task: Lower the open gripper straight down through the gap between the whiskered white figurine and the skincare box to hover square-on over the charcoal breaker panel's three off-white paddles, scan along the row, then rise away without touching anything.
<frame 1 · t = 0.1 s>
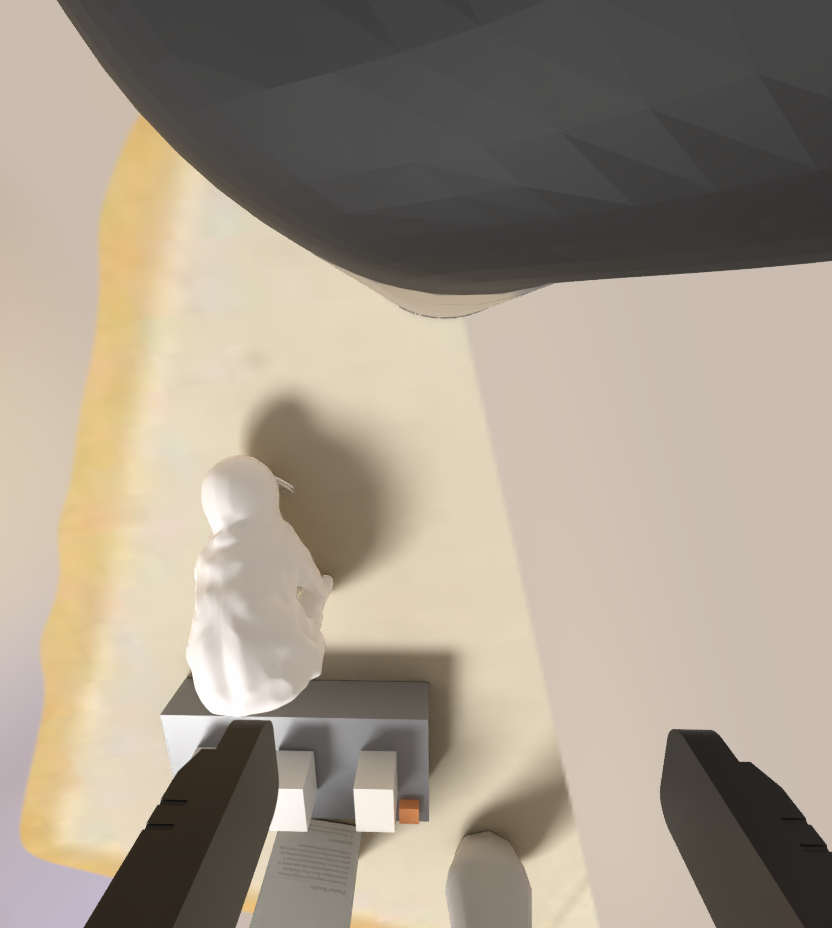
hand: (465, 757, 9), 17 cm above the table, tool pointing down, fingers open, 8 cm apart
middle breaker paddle: (292, 789, 27), point 4 cm above the table, hinge at 0.0°
whiskered white figurine: (276, 538, 28), on the table
skincare box: (322, 833, 34), on the table
salt shaker: (484, 848, 34), on the table
breaker panel: (310, 729, 31), on the table
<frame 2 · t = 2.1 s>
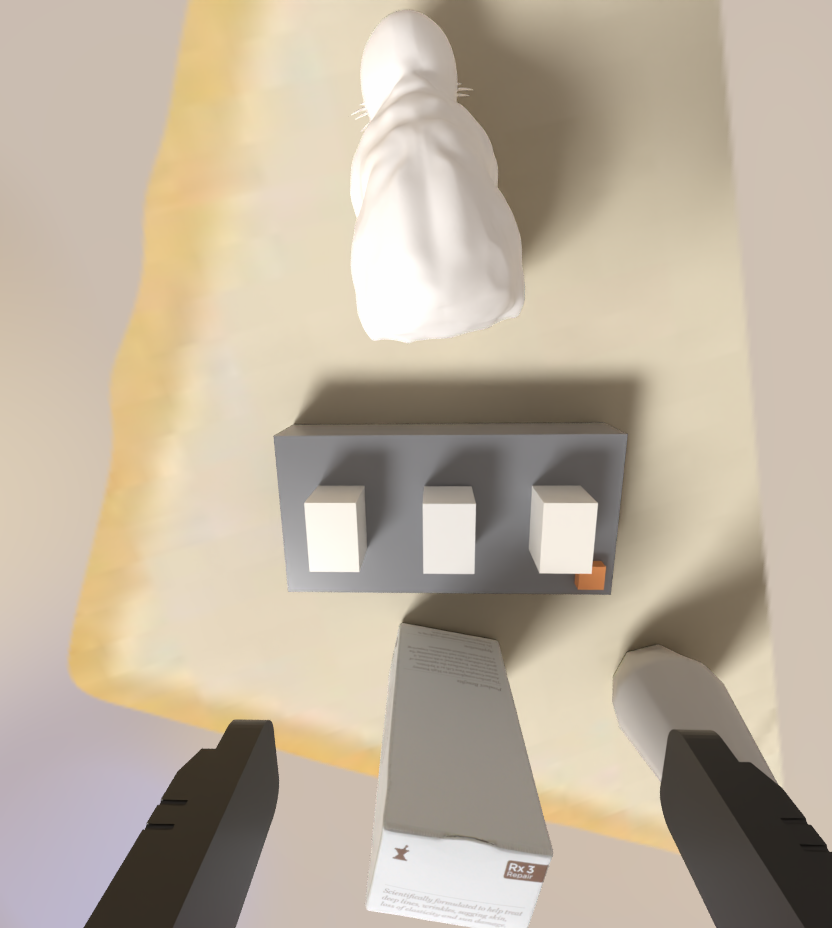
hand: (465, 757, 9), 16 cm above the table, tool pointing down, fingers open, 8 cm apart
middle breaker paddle: (448, 528, 21), point 4 cm above the table, hinge at 0.0°
whiskered white figurine: (425, 210, 22), on the table
skincare box: (445, 654, 28), on the table
salt shaker: (648, 672, 27), on the table
breaker panel: (446, 497, 25), on the table
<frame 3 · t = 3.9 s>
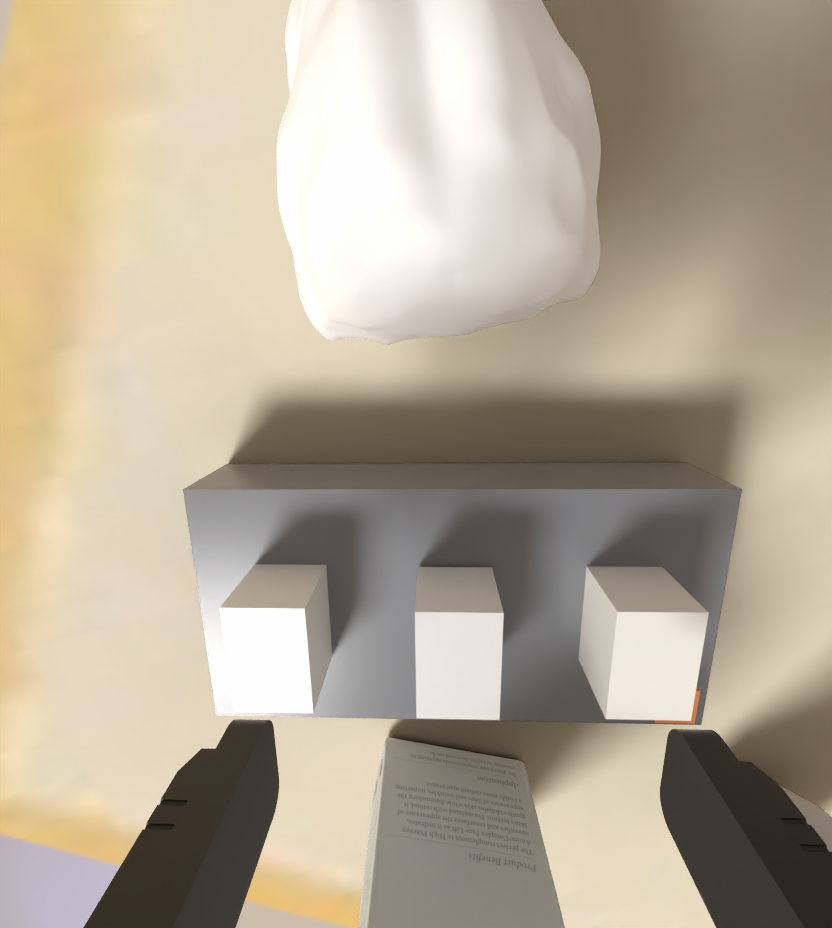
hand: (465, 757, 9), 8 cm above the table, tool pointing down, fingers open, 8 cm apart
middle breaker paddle: (456, 638, 13), point 4 cm above the table, hinge at 0.0°
whiskered white figurine: (420, 140, 14), on the table
skincare box: (449, 775, 20), on the table
salt shaker: (731, 802, 20), on the table
breaker panel: (451, 567, 17), on the table
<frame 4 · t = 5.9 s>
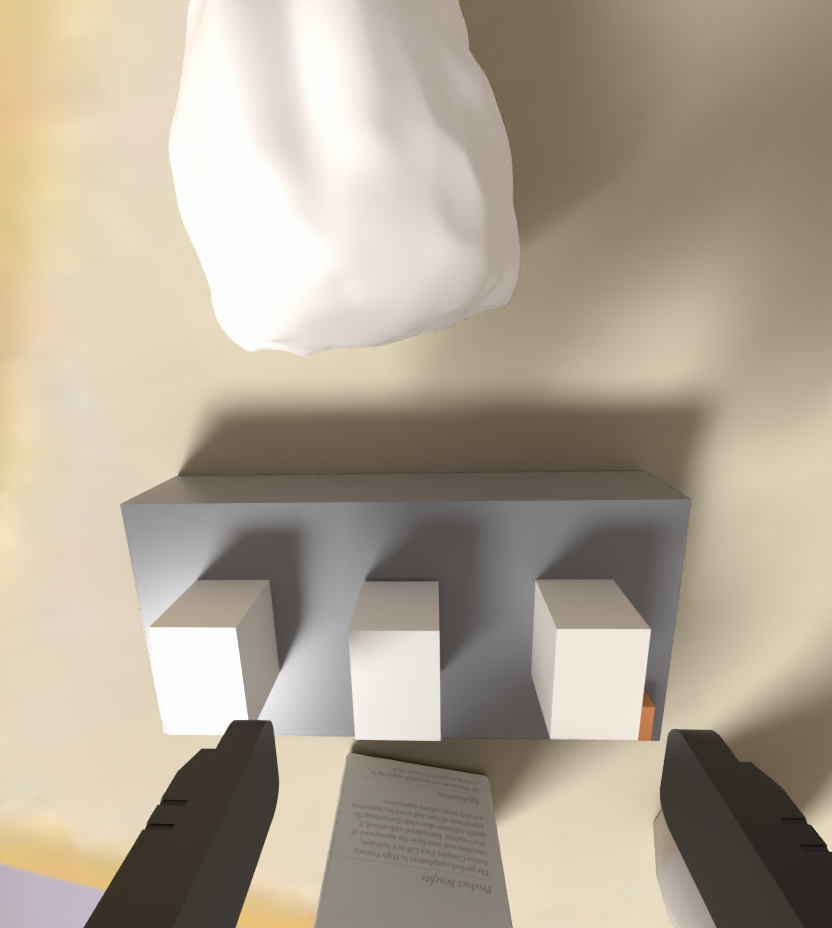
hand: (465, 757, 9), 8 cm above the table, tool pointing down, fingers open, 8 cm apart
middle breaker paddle: (399, 656, 13), point 4 cm above the table, hinge at 0.0°
whiskered white figurine: (362, 145, 14), on the table
skincare box: (414, 791, 20), on the table
salt shaker: (703, 816, 19), on the table
breaker panel: (407, 579, 17), on the table
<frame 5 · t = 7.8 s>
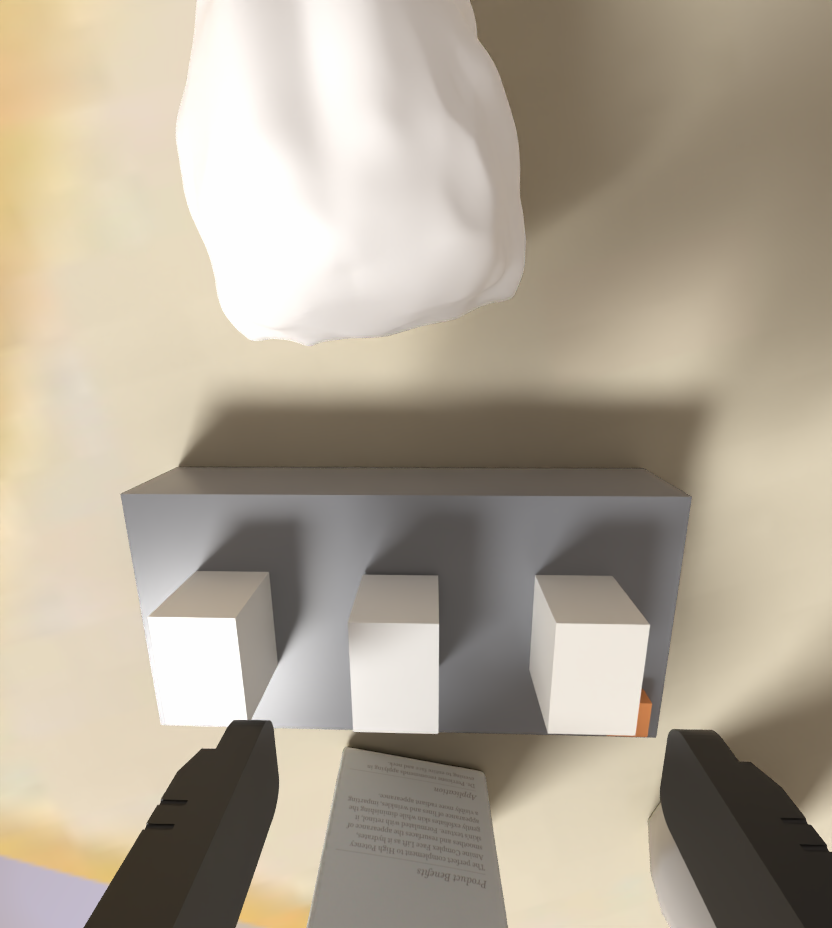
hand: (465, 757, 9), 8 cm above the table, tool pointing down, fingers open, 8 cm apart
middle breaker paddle: (398, 649, 13), point 4 cm above the table, hinge at 0.0°
whiskered white figurine: (367, 137, 14), on the table
skincare box: (410, 786, 20), on the table
salt shaker: (697, 814, 19), on the table
breaker panel: (407, 573, 17), on the table
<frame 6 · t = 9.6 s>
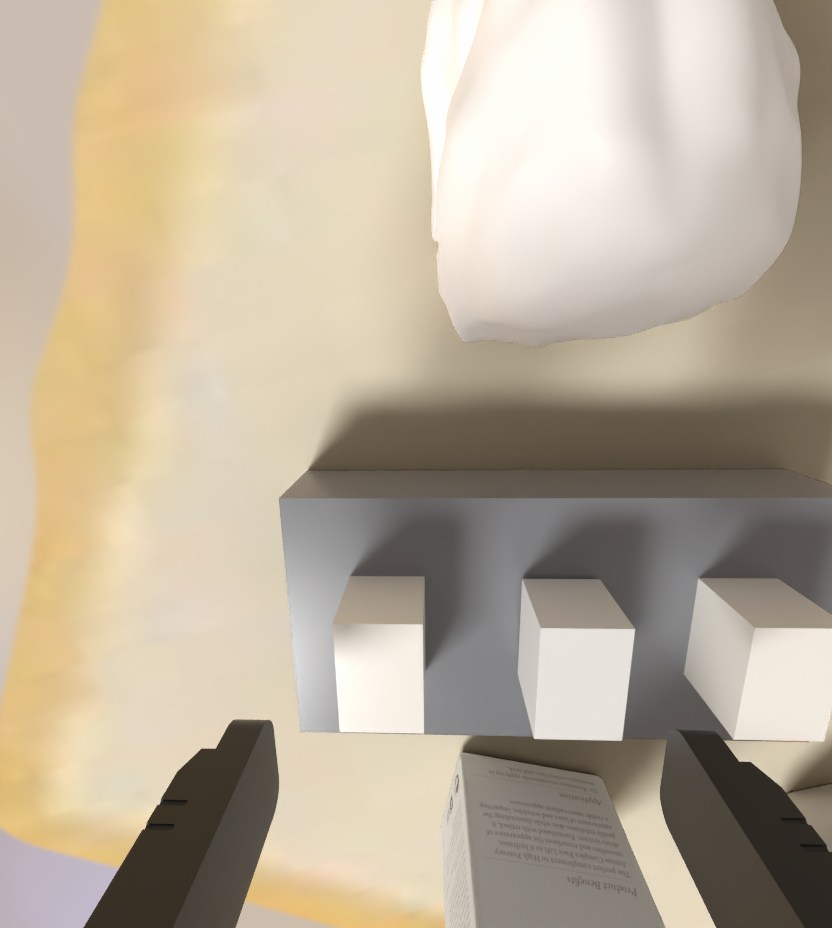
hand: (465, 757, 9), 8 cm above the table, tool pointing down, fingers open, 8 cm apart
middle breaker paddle: (568, 654, 12), point 4 cm above the table, hinge at 0.0°
whiskered white figurine: (522, 136, 13), on the table
skincare box: (522, 791, 19), on the table
salt shaker: (814, 818, 19), on the table
breaker panel: (535, 577, 17), on the table
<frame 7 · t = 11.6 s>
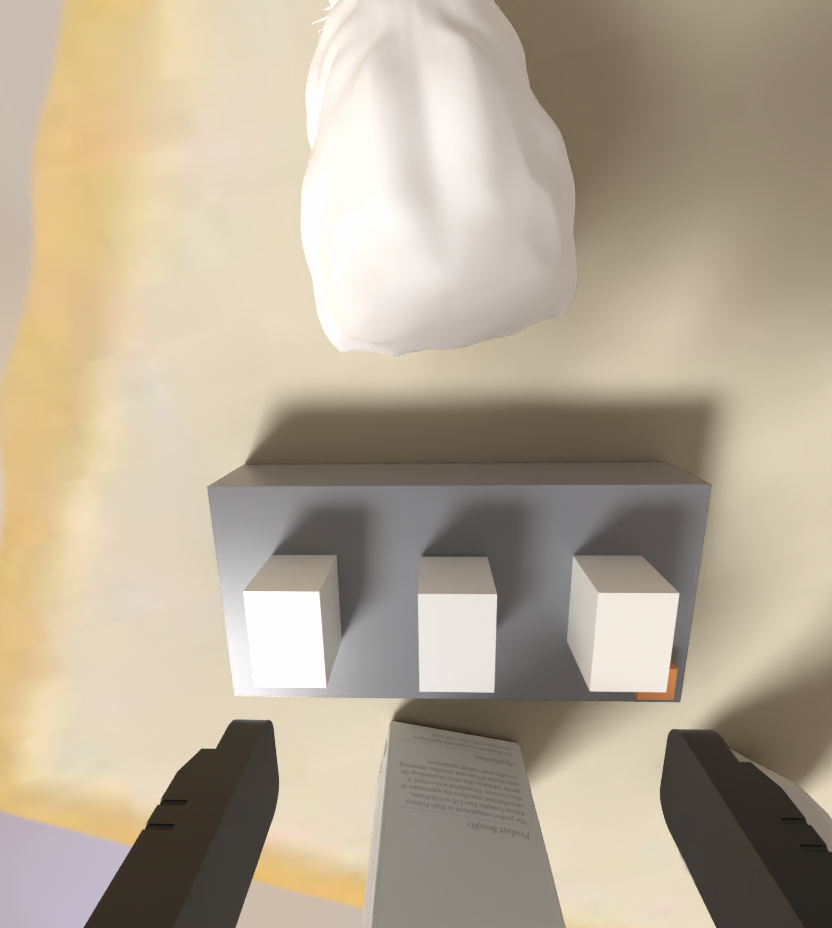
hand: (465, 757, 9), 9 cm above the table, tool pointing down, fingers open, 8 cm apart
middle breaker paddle: (455, 620, 14), point 4 cm above the table, hinge at 0.0°
whiskered white figurine: (421, 172, 16), on the table
skincare box: (449, 758, 21), on the table
salt shaker: (715, 781, 21), on the table
breaker panel: (450, 559, 19), on the table
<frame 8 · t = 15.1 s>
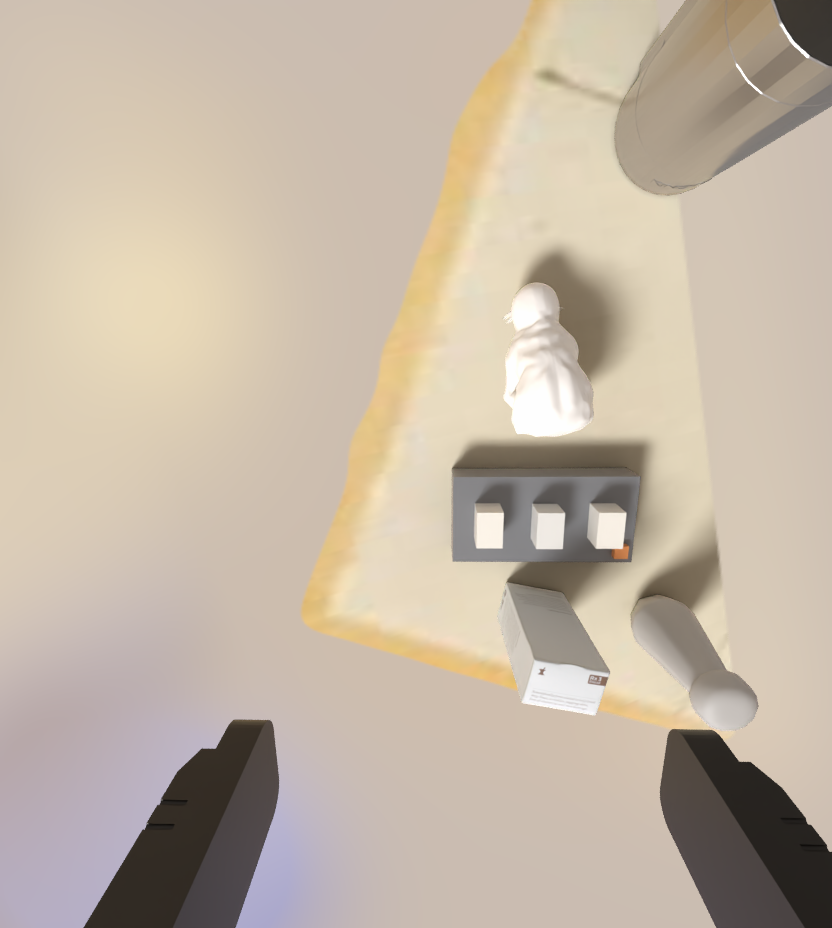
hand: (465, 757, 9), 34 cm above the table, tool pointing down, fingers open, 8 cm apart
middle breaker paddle: (547, 525, 40), point 4 cm above the table, hinge at 0.0°
whiskered white figurine: (532, 357, 41), on the table
skincare box: (530, 601, 46), on the table
salt shaker: (651, 611, 46), on the table
breaker panel: (536, 508, 44), on the table
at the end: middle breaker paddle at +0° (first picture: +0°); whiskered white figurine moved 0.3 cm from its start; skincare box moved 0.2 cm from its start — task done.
